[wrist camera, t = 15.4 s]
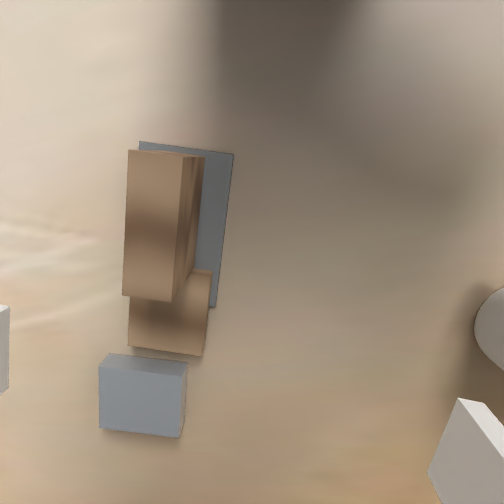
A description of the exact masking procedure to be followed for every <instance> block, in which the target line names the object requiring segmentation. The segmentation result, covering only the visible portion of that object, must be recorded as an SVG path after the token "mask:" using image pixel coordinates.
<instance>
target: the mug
mask: <svg viewBox="0 0 504 504" xmlns="http://www.w3.org/2000/svg"><path fill="white" fill-rule="evenodd" d="M474 333H475V338H476V341H477V343H478V345H479V347H480V349H481V350H482V351H483V352H484V354H485V355H486V356H487V357H488V358H489V359H490V360H492V361H493V362H494V363H495V364H496V365H497V366H498V367H500V368H501V369H502V370H503V371H504V287H502V288H500V289H499V290H497V291H495V292H494V293H493V294H492V295H490V296H489V297H488V298H487V299H486V301H485V302H484V303H483V304H482V306H481V307H480V309H479V311H478V313H477V316H476V319H475V325H474Z"/></svg>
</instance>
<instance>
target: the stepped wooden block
mask: <svg viewBox="0 0 504 504" xmlns="http://www.w3.org/2000/svg"><path fill="white" fill-rule="evenodd" d="M204 163H205V156H198V155H191V154H184V153H177V152H170V151H158V150H129V151H128V173H127V196H126V218H125V241H124V263H123V286H122V295H124V296H130V307H129V326H128V346H135V347H142V348H148V349H155V350H162V351H168V352H175V353H182V354H188V355H195V356H202V353H203V350H204V345H205V336H206V327H207V319H208V310H209V301H210V292H211V283H212V275H213V271H210V270H203V269H196V268H194V264H195V254H196V243H197V233H198V223H199V213H200V203H201V193H202V183H203V173H204Z"/></svg>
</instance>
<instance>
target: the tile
mask: <svg viewBox="0 0 504 504" xmlns="http://www.w3.org/2000/svg"><path fill="white" fill-rule="evenodd" d="M187 370H188V363H186V362H178V361H170V360H161V359H153V358H145V357H136V356H128V355H119V354H111V353H109V354H108V356H107V357H106V358H105V359H104V360H103V362H102V363H101V364H100V365H99V428H104V429H111V430H119V431H127V432H135V433H143V434H151V435H159V436H167V437H175V438H179V436H180V433H181V430H182V427H183V423H184V418H185V402H186V386H187Z"/></svg>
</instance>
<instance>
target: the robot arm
mask: <svg viewBox="0 0 504 504" xmlns="http://www.w3.org/2000/svg"><path fill="white" fill-rule="evenodd" d="M9 321H10V307H9V306H4V305H0V395H1V394H2V393H3V392H4V391H5V390H7V389H8V388H9ZM427 474H428V476H429V478H430V480H431V482H432V484H433V486H434V488H435V490H436V493H437V495H438V497H439V499H440V501H441V503H442V504H504V426H503V425H502V424H501V423H500V422H499V420H498V419H497V418H496V417H495V416H494V414H493V413H492V412H491V411H490V410H489V408H488V407H487V406H486V405H485V404H484V403H482V402H477V401H472V400H467V399H462V398H457V401H456V403H455V405H454V408H453V410H452V413H451V415H450V418H449V420H448V423H447V425H446V427H445V430H444V432H443V435H442V437H441V440H440V442H439V444H438V447H437V449H436V452H435V454H434V457H433V459H432V462H431V464H430V466H429V469H428V471H427Z"/></svg>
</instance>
